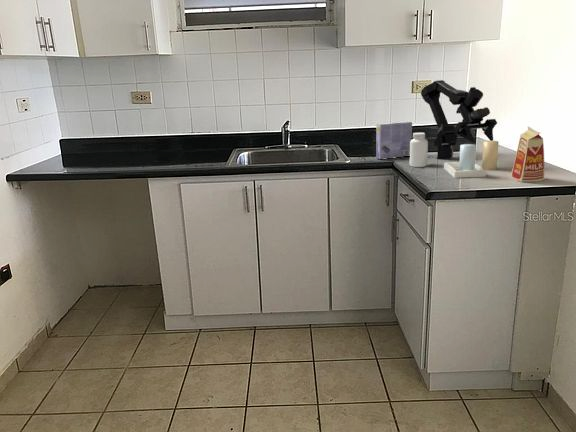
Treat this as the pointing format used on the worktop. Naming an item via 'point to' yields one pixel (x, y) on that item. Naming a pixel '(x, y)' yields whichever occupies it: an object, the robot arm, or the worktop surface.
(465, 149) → the pale blue cylinder
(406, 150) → the cake pan box
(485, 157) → the beige tall cylinder
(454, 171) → the white rectangular tray
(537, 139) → the milk carton
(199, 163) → the worktop surface
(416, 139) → the pill bottle
